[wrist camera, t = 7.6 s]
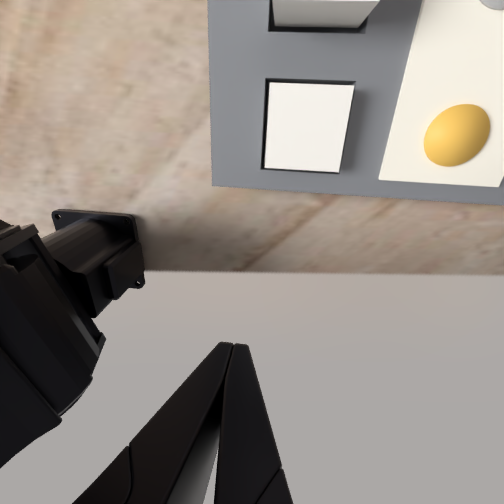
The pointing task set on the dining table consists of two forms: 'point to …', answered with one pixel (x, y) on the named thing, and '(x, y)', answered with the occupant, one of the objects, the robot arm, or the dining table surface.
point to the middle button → (322, 12)
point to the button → (307, 126)
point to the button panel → (368, 98)
